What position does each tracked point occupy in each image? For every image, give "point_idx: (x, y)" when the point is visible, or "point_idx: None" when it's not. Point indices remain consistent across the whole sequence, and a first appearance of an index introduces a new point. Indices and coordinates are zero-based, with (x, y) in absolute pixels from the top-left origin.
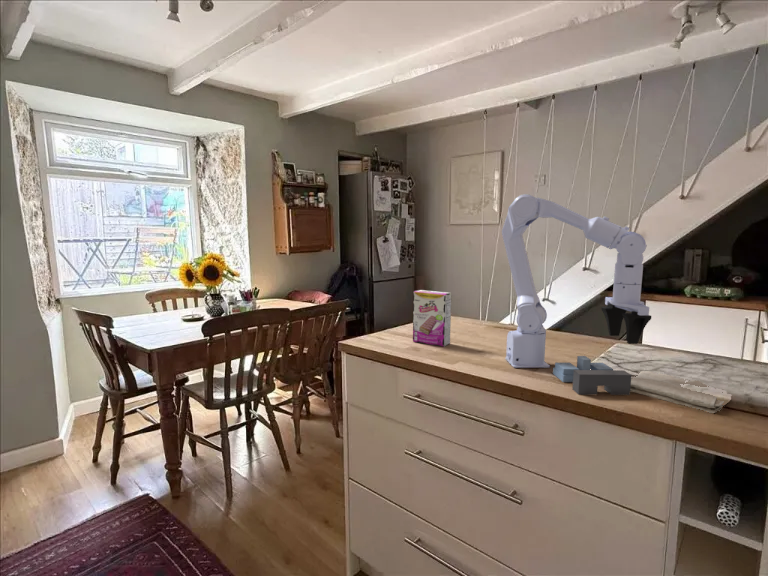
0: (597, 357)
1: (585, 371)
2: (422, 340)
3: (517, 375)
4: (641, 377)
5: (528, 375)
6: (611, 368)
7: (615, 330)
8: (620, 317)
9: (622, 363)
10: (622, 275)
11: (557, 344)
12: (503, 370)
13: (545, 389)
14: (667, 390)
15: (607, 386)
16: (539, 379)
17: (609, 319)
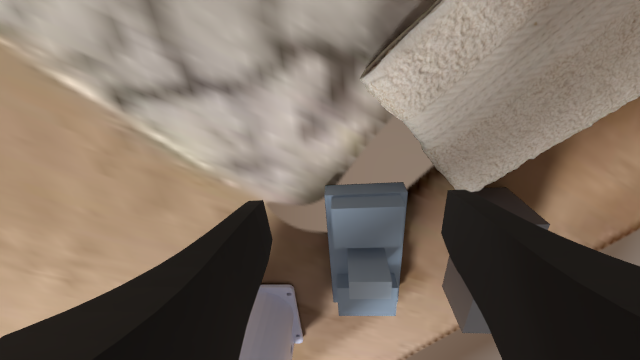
0: (129, 121)
1: (481, 316)
2: None
3: (349, 341)
4: (453, 126)
5: (348, 327)
6: (396, 208)
7: (257, 240)
8: (204, 301)
9: (181, 55)
10: None
11: (12, 194)
12: (319, 352)
13: (434, 324)
14: (607, 110)
15: None
16: (374, 318)
17: (237, 344)
